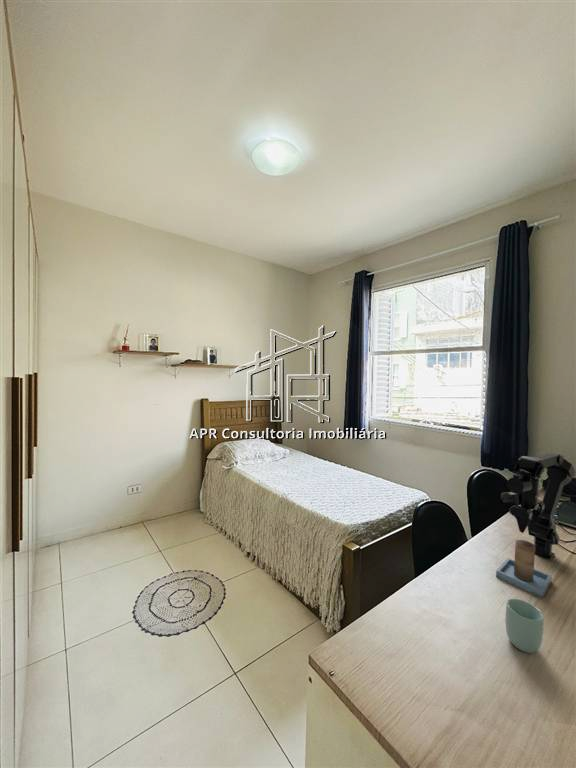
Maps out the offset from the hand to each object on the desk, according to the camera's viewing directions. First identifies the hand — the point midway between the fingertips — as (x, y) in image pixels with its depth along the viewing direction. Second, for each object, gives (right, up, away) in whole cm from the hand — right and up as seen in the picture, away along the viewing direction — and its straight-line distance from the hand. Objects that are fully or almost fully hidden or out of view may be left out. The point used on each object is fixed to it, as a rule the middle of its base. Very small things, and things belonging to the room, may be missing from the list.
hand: (525, 529), depth 119 cm
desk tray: (-9, -13, -10) cm, 19 cm away
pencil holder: (-9, -12, -10) cm, 18 cm away
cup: (-30, -14, -37) cm, 50 cm away
